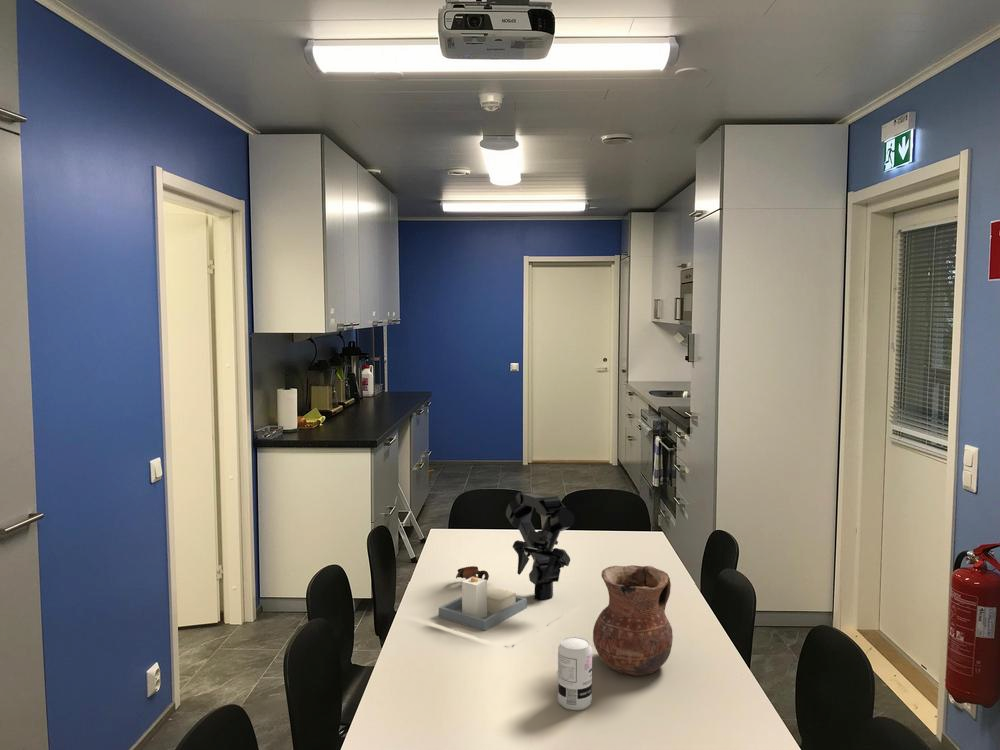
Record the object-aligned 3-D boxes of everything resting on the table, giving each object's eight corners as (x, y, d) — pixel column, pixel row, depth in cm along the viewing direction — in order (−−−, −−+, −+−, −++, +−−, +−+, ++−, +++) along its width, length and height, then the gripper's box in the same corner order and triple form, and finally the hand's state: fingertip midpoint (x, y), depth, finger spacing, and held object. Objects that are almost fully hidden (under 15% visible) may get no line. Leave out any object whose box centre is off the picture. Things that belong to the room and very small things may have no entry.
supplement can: (555, 695, 185) (555, 636, 184) (588, 693, 185) (588, 635, 184) (560, 712, 177) (560, 651, 176) (595, 710, 177) (595, 649, 176)
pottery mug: (454, 593, 256) (451, 568, 260) (463, 596, 264) (460, 572, 268) (487, 586, 254) (484, 562, 257) (495, 589, 262) (492, 566, 266)
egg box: (485, 599, 246) (485, 584, 245) (515, 607, 239) (515, 592, 238) (470, 607, 239) (470, 591, 239) (500, 615, 232) (500, 600, 232)
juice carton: (473, 612, 235) (472, 574, 234) (487, 616, 232) (486, 577, 231) (462, 617, 231) (461, 579, 230) (476, 621, 227) (476, 582, 227)
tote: (482, 598, 249) (482, 587, 249) (526, 610, 238) (526, 598, 238) (438, 620, 231) (438, 607, 231) (484, 634, 221) (484, 621, 220)
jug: (655, 691, 186) (656, 593, 185) (579, 670, 198) (579, 578, 196) (683, 657, 205) (684, 568, 203) (613, 640, 216) (613, 556, 215)
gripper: (515, 515, 239) (495, 558, 231) (565, 524, 228) (546, 569, 220) (529, 533, 246) (510, 575, 238) (578, 543, 235) (560, 587, 227)
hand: (530, 576), depth 231 cm, fingers open, 9 cm apart
